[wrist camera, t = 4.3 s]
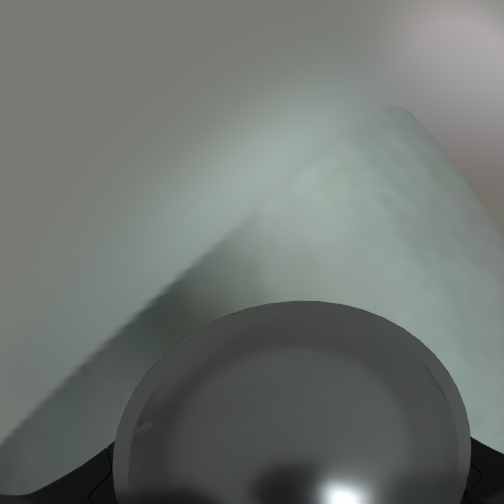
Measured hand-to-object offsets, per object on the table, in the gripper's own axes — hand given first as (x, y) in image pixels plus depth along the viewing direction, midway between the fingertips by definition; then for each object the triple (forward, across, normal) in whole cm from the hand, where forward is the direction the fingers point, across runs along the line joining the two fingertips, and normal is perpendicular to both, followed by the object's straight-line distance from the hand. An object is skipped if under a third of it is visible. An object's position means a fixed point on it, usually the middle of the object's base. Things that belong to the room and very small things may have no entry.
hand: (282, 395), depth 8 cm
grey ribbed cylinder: (0, 0, +2) cm, 3 cm away
